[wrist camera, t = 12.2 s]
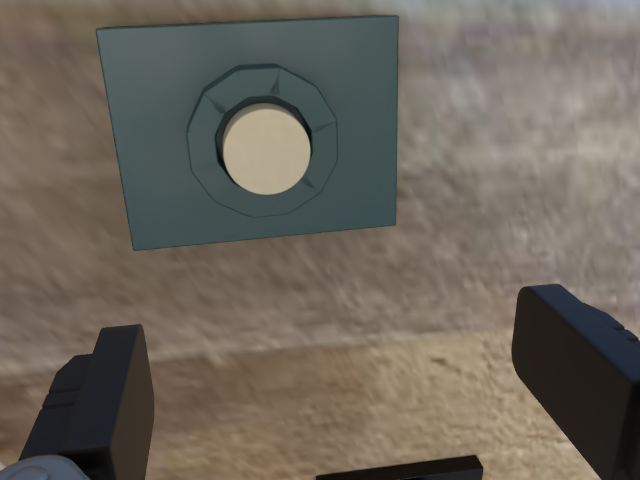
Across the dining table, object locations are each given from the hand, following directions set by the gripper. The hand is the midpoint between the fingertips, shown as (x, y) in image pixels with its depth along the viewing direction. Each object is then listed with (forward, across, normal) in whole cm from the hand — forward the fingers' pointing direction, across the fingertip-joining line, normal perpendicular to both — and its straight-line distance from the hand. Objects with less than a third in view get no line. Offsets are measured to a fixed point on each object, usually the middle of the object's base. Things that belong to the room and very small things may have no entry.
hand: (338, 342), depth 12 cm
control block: (+19, 0, -1) cm, 19 cm away
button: (+15, 0, -1) cm, 15 cm away
